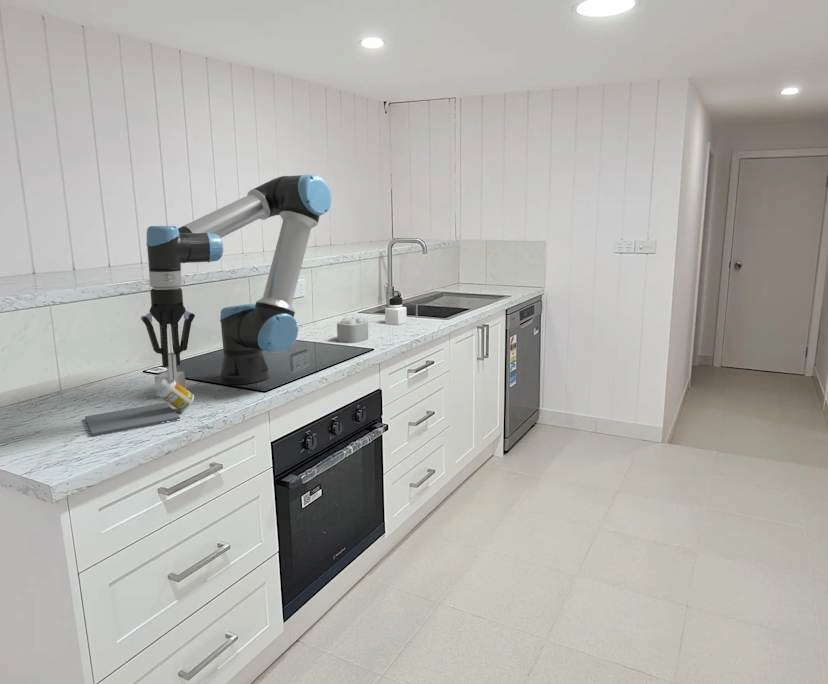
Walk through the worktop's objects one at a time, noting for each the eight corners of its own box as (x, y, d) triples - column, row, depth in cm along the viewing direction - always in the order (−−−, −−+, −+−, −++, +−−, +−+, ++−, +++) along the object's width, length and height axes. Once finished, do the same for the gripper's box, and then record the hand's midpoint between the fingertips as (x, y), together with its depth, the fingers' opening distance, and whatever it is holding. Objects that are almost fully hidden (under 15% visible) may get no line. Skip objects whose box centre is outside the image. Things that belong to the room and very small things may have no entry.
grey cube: (156, 396, 181) (154, 376, 179) (167, 390, 186) (165, 371, 185) (176, 397, 180) (174, 377, 178) (186, 391, 186) (184, 371, 184)
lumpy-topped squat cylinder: (334, 341, 251) (333, 319, 249) (354, 335, 261) (353, 314, 259) (354, 343, 245) (353, 321, 243) (374, 337, 255) (374, 316, 254)
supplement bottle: (188, 394, 171) (159, 373, 166) (197, 394, 167) (169, 373, 162) (177, 411, 169) (147, 390, 163) (186, 411, 165) (156, 390, 160)
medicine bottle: (407, 322, 286) (406, 296, 283) (398, 325, 280) (397, 298, 278) (393, 321, 290) (393, 295, 287) (385, 324, 284) (384, 297, 281)
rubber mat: (166, 405, 173) (166, 402, 172) (180, 420, 160) (179, 417, 160) (85, 419, 162) (84, 416, 162) (92, 436, 150) (92, 433, 149)
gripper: (140, 290, 153) (147, 385, 158) (197, 287, 160) (202, 378, 165) (135, 287, 159) (142, 378, 164) (189, 285, 167) (194, 372, 171)
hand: (172, 378), depth 164 cm, fingers closed
